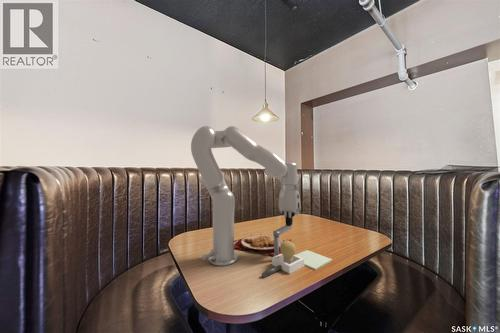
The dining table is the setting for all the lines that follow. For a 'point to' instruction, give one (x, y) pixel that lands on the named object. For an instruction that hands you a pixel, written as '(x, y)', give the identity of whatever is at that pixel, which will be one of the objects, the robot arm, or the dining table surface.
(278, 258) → the white handled box
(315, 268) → the mat
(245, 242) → the plate with food
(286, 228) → the silver metal bar
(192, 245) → the dining table surface
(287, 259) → the light bulb
